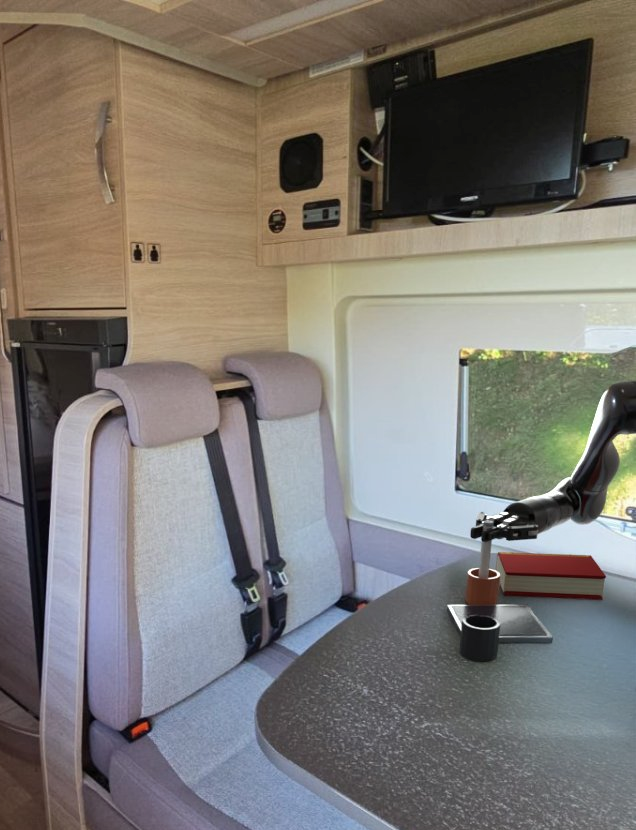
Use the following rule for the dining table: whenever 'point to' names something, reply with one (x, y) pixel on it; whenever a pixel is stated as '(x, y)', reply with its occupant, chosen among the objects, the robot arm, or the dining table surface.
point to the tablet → (506, 622)
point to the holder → (479, 637)
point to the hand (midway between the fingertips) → (478, 535)
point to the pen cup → (482, 588)
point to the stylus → (485, 553)
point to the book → (550, 575)
